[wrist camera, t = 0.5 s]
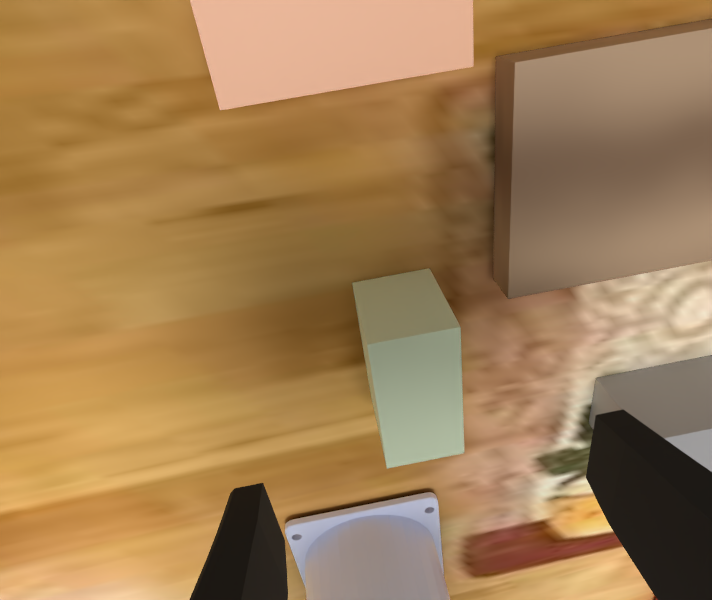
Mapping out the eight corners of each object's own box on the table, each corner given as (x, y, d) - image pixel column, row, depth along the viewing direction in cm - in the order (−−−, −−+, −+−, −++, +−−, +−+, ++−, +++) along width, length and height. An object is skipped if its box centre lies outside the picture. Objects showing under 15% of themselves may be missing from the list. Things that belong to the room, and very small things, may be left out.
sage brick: (436, 382, 22) (464, 453, 19) (371, 395, 22) (386, 468, 19) (428, 267, 19) (460, 326, 16) (351, 281, 19) (367, 344, 16)
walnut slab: (680, 236, 20) (717, 259, 19) (489, 273, 20) (508, 298, 18) (732, 12, 16) (786, 15, 14) (490, 54, 16) (514, 62, 14)
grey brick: (717, 352, 24) (789, 412, 20) (702, 398, 25) (766, 461, 22) (594, 376, 23) (647, 441, 20) (587, 421, 25) (635, 488, 22)
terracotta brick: (424, -74, 14) (472, -94, 10) (430, 48, 15) (473, 66, 12) (203, -38, 13) (177, -47, 10) (233, 82, 15) (219, 110, 12)
